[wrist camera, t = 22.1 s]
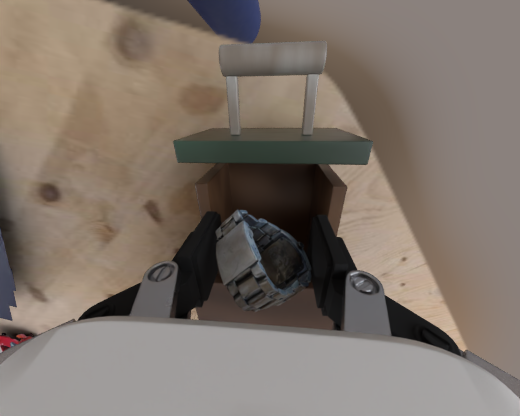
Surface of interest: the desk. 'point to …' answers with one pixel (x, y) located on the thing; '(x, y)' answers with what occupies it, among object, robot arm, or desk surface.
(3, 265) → the dark blue flat piece
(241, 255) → the wristwatch
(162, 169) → the desk surface
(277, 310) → the cabinet
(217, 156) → the drawer
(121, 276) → the desk surface
